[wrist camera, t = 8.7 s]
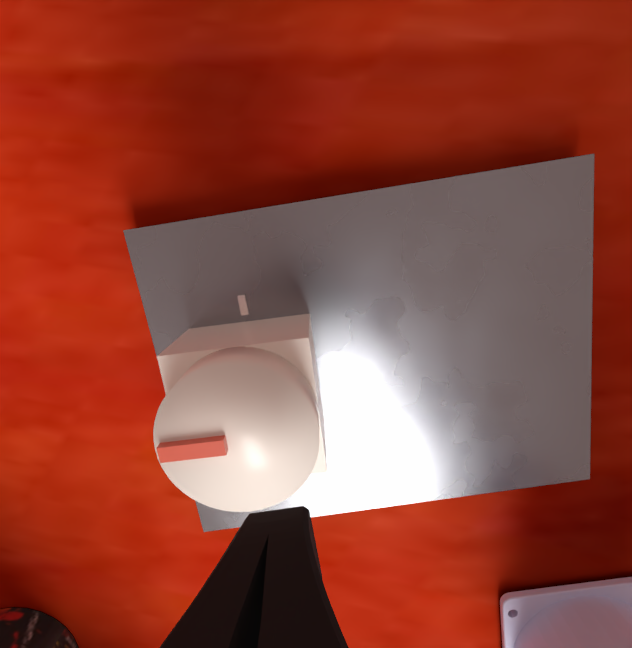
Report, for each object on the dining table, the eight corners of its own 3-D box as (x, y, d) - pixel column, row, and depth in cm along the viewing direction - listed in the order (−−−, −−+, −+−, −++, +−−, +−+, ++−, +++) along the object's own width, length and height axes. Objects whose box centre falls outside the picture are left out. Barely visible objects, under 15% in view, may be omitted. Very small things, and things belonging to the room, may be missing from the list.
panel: (573, 463, 20) (645, 531, 15) (210, 513, 20) (182, 591, 16) (574, 158, 16) (666, 136, 12) (136, 229, 17) (75, 232, 13)
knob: (309, 313, 16) (307, 356, 11) (324, 424, 18) (328, 509, 12) (188, 328, 17) (131, 378, 11) (211, 437, 18) (169, 527, 13)
